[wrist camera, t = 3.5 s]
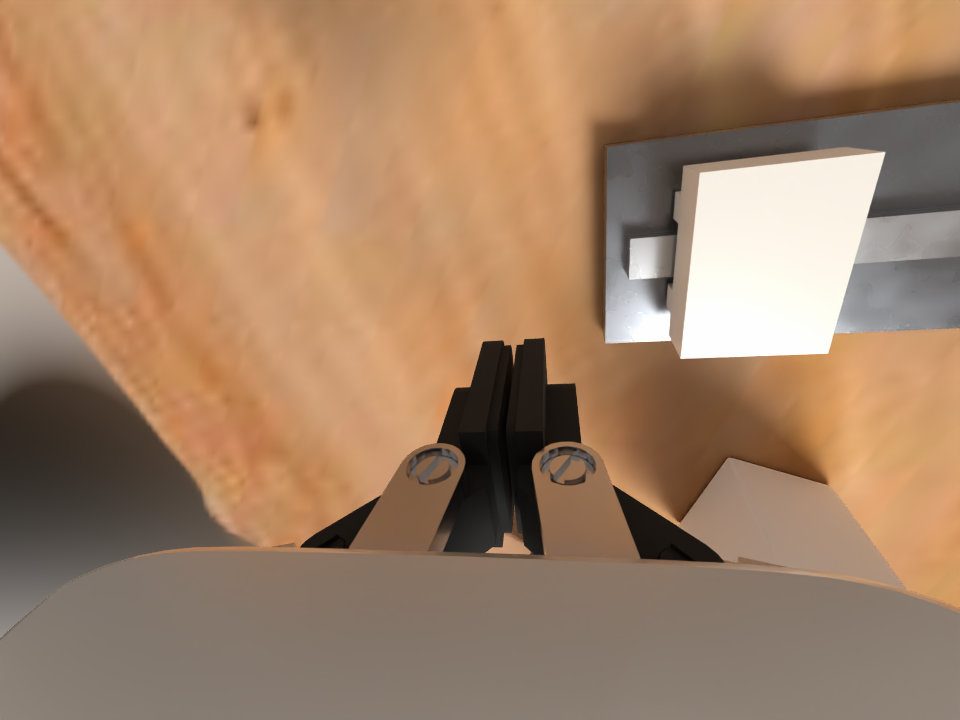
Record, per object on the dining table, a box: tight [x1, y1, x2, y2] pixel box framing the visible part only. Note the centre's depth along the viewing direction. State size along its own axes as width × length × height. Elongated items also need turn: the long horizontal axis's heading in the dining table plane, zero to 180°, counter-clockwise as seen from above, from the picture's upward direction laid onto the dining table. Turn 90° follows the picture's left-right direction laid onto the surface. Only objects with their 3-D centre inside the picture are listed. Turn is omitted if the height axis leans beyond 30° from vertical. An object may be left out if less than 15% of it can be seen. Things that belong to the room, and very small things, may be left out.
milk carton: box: [679, 458, 907, 590], centre depth 22 cm, size 7×7×19 cm
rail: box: [603, 99, 960, 343], centre depth 18 cm, size 28×10×5 cm, turn 97°
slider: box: [666, 147, 885, 359], centre depth 19 cm, size 6×8×4 cm
